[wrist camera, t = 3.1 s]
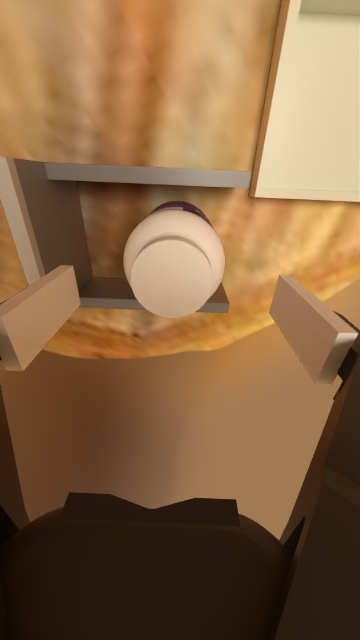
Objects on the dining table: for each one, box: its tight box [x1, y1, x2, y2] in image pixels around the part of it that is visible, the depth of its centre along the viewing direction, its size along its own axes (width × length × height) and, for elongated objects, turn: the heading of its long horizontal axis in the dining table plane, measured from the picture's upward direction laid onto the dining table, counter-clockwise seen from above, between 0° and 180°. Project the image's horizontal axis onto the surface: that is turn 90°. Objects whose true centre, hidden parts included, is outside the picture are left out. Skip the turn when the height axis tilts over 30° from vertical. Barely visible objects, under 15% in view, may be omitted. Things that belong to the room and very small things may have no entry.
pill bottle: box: [123, 201, 225, 318], centre depth 21 cm, size 8×8×14 cm
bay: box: [0, 157, 251, 313], centre depth 23 cm, size 18×13×11 cm
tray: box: [249, 0, 360, 202], centre depth 21 cm, size 14×14×2 cm
